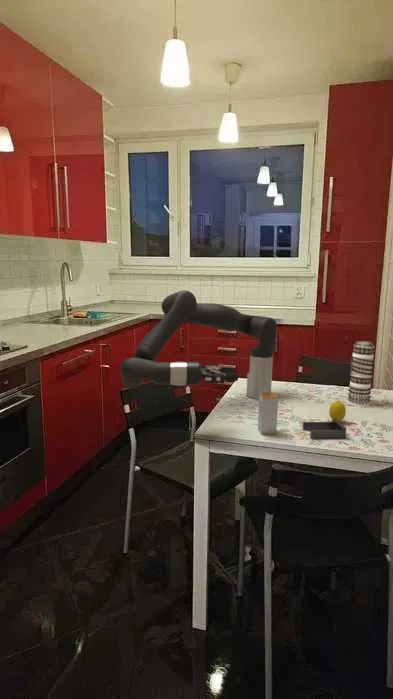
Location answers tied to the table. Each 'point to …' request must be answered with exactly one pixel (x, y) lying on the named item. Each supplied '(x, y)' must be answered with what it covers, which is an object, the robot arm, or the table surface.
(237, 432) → the table surface
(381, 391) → the table surface
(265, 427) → the block
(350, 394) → the decorative candle
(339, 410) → the lemon
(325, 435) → the channel
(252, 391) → the robot arm
